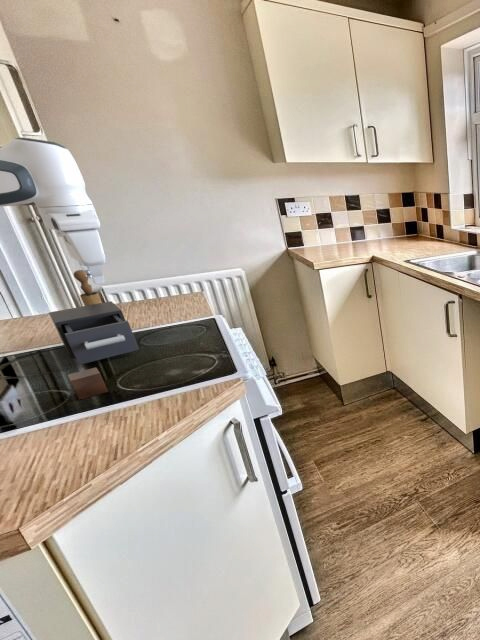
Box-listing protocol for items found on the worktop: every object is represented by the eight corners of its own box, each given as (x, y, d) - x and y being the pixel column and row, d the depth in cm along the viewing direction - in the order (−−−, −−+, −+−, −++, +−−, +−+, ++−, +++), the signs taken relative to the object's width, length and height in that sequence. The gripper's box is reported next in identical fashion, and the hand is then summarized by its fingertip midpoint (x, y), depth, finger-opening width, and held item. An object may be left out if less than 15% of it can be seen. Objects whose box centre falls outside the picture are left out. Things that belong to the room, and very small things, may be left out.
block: (79, 400, 86) (70, 380, 85) (76, 393, 89) (67, 374, 87) (108, 391, 89) (100, 372, 88) (104, 385, 92) (96, 367, 90)
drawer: (143, 353, 106) (132, 324, 103) (81, 369, 98) (67, 338, 95) (128, 338, 116) (117, 312, 113) (71, 352, 108) (58, 323, 105)
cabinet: (134, 343, 115) (121, 309, 112) (71, 358, 106) (54, 322, 103) (123, 332, 124) (111, 301, 120) (64, 345, 115) (48, 312, 111)
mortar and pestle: (107, 332, 124) (83, 272, 117) (83, 334, 123) (56, 273, 116) (123, 325, 130) (100, 267, 123) (99, 326, 129) (75, 268, 122)
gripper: (45, 218, 97) (70, 276, 102) (57, 223, 85) (85, 289, 90) (82, 215, 102) (104, 272, 107) (99, 220, 90) (123, 283, 95)
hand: (96, 280), depth 99 cm, fingers open, 8 cm apart
